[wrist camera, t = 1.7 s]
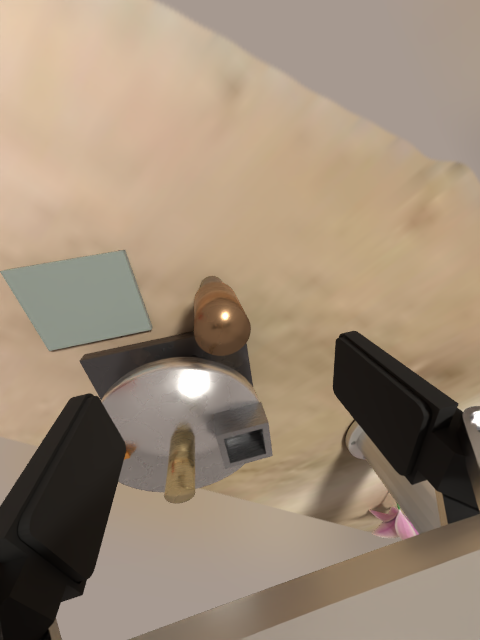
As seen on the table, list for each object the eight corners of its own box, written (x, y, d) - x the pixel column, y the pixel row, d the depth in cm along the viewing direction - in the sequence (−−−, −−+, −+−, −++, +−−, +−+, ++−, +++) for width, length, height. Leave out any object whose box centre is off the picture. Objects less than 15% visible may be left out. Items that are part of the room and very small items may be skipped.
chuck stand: (241, 321, 25) (249, 338, 22) (257, 424, 33) (265, 449, 29) (84, 354, 24) (65, 378, 20) (139, 455, 31) (131, 486, 28)
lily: (348, 498, 49) (373, 559, 44) (402, 491, 42) (439, 563, 37) (372, 485, 56) (396, 536, 51) (421, 477, 50) (454, 536, 44)
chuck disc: (131, 489, 27) (112, 570, 21) (63, 381, 20) (2, 456, 14) (266, 452, 29) (285, 516, 23) (250, 339, 22) (272, 390, 15)
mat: (124, 249, 20) (122, 250, 20) (152, 327, 24) (151, 329, 23) (5, 269, 19) (0, 271, 19) (52, 347, 23) (49, 350, 22)
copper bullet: (226, 267, 23) (246, 299, 14) (231, 300, 24) (253, 349, 15) (190, 273, 22) (187, 311, 13) (198, 306, 24) (201, 360, 15)
